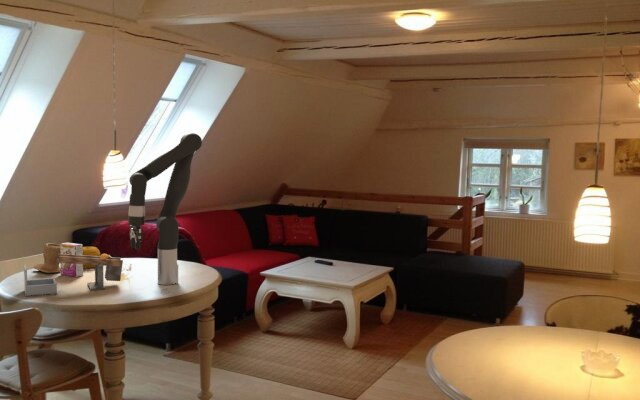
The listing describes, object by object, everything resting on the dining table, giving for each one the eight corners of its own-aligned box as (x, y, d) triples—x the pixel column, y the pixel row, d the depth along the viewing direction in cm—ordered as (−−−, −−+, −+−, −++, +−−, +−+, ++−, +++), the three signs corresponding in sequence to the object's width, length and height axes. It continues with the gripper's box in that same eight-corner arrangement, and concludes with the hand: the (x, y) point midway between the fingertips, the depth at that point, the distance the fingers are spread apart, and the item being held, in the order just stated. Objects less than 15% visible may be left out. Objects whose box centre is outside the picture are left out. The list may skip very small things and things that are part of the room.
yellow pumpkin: (70, 267, 320) (70, 246, 319) (93, 264, 329) (93, 243, 328) (82, 270, 311) (82, 249, 310) (105, 267, 321) (104, 246, 320)
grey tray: (54, 287, 274) (54, 262, 273) (56, 293, 263) (56, 267, 262) (24, 290, 268) (23, 264, 267) (25, 296, 257) (24, 269, 255)
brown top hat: (68, 272, 307) (67, 244, 306) (45, 275, 298) (44, 246, 297) (55, 267, 317) (54, 240, 316) (32, 271, 308) (32, 242, 307)
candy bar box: (59, 275, 300) (59, 243, 299) (67, 273, 305) (67, 242, 303) (75, 277, 295) (75, 245, 294) (83, 275, 300) (83, 244, 298)
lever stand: (100, 283, 284) (100, 259, 282) (104, 289, 272) (104, 264, 271) (87, 284, 281) (87, 260, 280) (91, 290, 269) (90, 265, 268)
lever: (115, 275, 290) (118, 253, 290) (120, 281, 278) (123, 258, 278) (53, 272, 277) (56, 249, 276) (56, 278, 264) (59, 254, 264)
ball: (107, 261, 280) (108, 253, 280) (108, 263, 276) (109, 254, 276) (98, 261, 278) (99, 252, 278) (100, 262, 274) (100, 254, 274)
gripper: (148, 216, 274) (147, 250, 275) (140, 213, 286) (139, 246, 287) (132, 216, 270) (131, 251, 271) (124, 213, 282) (123, 246, 283)
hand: (135, 248), depth 279 cm, fingers open, 8 cm apart
